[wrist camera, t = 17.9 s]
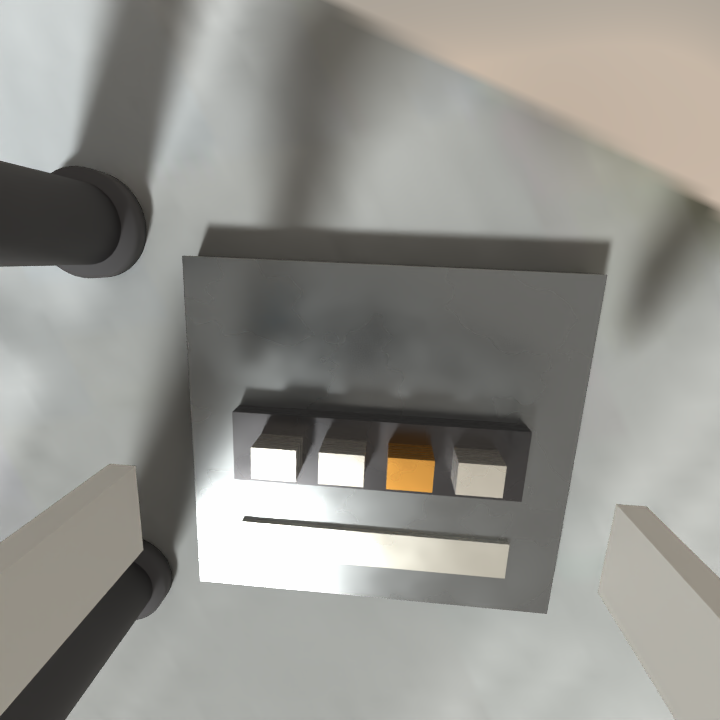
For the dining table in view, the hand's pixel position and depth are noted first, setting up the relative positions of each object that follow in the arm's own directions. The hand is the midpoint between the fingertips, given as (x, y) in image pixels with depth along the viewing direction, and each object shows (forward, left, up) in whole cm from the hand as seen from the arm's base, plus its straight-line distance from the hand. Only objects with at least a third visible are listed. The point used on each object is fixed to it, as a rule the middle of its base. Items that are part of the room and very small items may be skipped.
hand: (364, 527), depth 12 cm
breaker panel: (0, 0, -6) cm, 6 cm away
